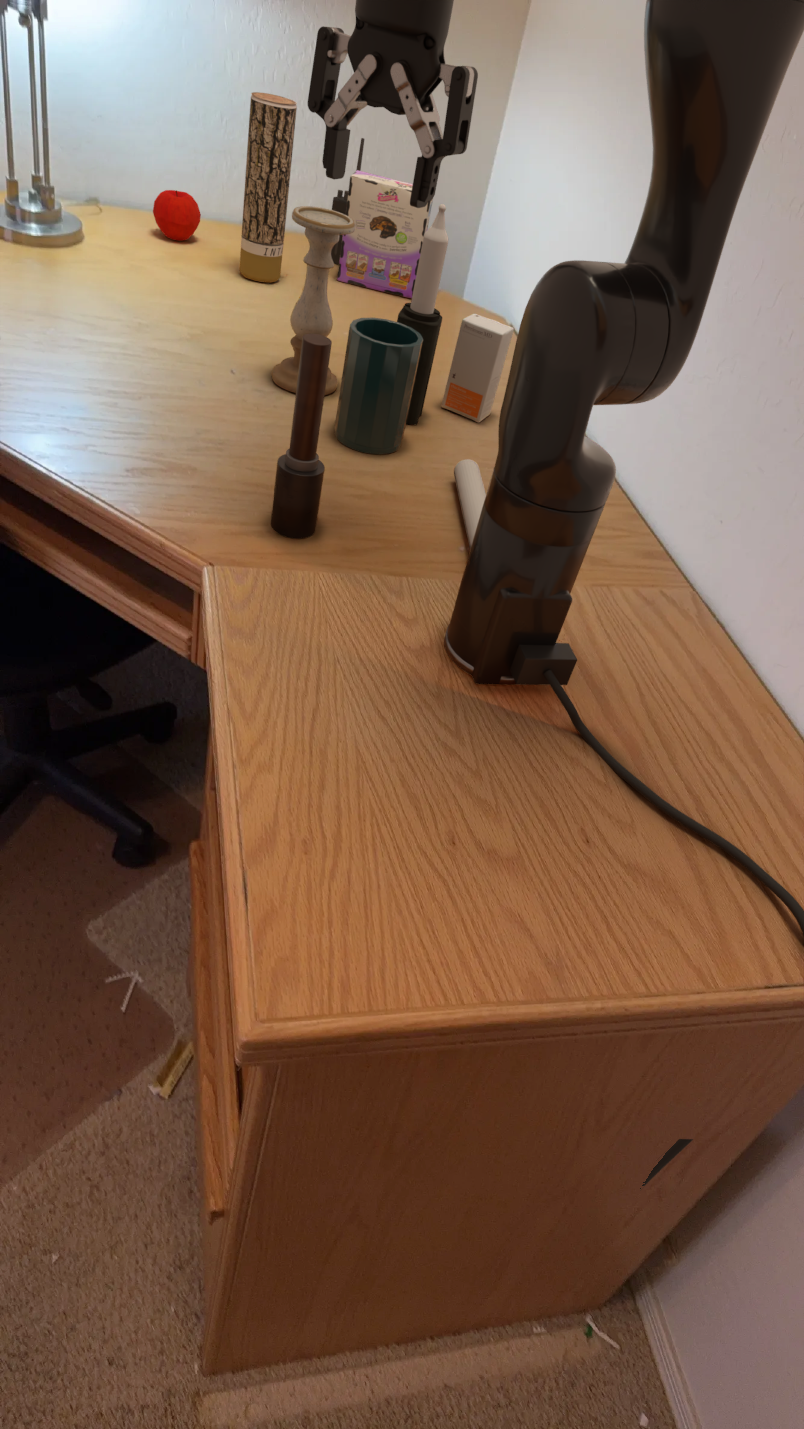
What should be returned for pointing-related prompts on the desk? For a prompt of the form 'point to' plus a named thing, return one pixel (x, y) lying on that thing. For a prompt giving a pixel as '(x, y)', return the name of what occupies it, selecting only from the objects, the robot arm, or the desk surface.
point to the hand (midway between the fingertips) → (376, 191)
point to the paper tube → (266, 185)
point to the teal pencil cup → (377, 385)
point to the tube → (470, 494)
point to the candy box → (382, 235)
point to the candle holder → (313, 288)
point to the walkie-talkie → (343, 208)
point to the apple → (176, 214)
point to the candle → (426, 308)
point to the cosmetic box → (477, 367)
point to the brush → (303, 447)
